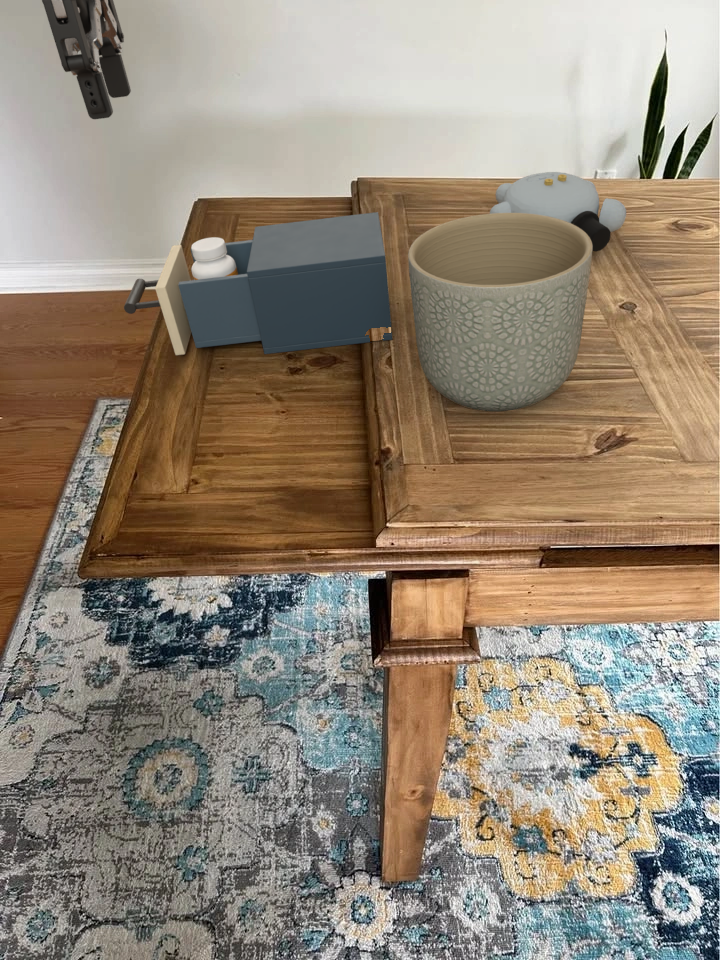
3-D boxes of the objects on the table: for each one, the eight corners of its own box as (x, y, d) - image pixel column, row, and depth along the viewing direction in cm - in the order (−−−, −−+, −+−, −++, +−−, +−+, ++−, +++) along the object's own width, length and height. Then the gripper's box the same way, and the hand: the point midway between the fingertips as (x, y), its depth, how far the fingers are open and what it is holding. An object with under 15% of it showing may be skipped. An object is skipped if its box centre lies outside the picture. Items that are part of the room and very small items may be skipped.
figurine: (464, 228, 110) (541, 289, 97) (467, 172, 104) (549, 229, 91) (560, 201, 115) (646, 256, 102) (568, 145, 109) (660, 196, 95)
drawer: (133, 360, 89) (110, 293, 83) (151, 313, 98) (131, 250, 93) (293, 342, 88) (281, 273, 82) (296, 296, 98) (285, 231, 92)
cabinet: (264, 354, 88) (246, 271, 82) (270, 303, 99) (255, 226, 92) (392, 339, 88) (385, 255, 81) (385, 290, 98) (378, 211, 91)
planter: (519, 453, 69) (525, 304, 59) (384, 397, 78) (371, 260, 69) (608, 372, 77) (627, 230, 68) (478, 330, 87) (477, 201, 77)
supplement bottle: (255, 310, 93) (239, 236, 87) (232, 330, 90) (213, 254, 83) (220, 305, 95) (202, 233, 89) (196, 325, 92) (176, 251, 86)
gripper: (33, -96, 68) (92, 95, 79) (-22, -91, 57) (55, 130, 68) (112, -107, 68) (161, 86, 78) (72, -104, 57) (134, 120, 67)
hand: (112, 106), depth 73 cm, fingers open, 8 cm apart
